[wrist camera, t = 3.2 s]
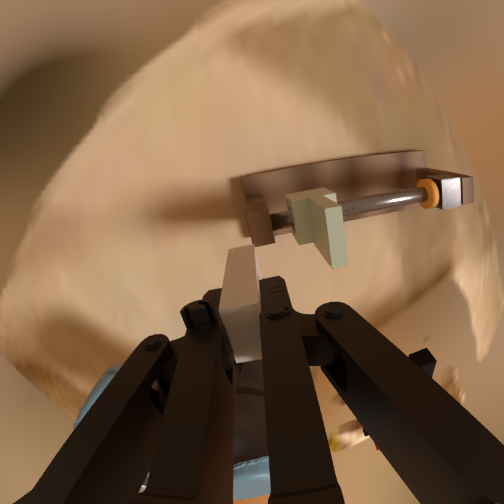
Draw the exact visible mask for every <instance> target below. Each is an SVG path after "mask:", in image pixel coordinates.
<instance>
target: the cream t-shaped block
mask: <svg viewBox="0 0 504 504" xmlns="http://www.w3.org/2000/svg"><path fill="white" fill-rule="evenodd" d="M285 198H286V204H287V209H288V210H292V215H293V220H294V226H295V227H291V231H292V234H293V236H294V237H295V239H296V241H297V243H298V245H303V244H308V243H312V242H314V244H315V246H316V247H317V249H318V250H319V251H320V253H321V254H322V256H323V257H324V258H325V260H326V261H327V263H328V264H329V265H330V267H331V268H332V269H335V268H339V267H344V266H348V264H347V252H346V241H345V232H344V223H343V215H342V207H341V205H339V204H337V199H336V193H334V192H332V191H330V190H328V189H326V188H324V187H323V188H318V189H312V190H307V191H301V192H296V193H291V194H286V195H285Z"/></svg>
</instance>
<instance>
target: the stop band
mask: <svg viewBox="0 0 504 504" xmlns="http://www.w3.org/2000/svg"><path fill="white" fill-rule="evenodd" d="M418 187H425V188H426V190H427V192H428V200H427V201H425V202H420V205H421V206H422V207H423V208H425V209H428V208H433V207H436V206H437V204H438V202H439V191H438V188H437V185H436V184H435V182H434V181H433V180H432V179H429V178H428V179H421V180H419V181H418V183H417V186H416V188H418Z"/></svg>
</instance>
